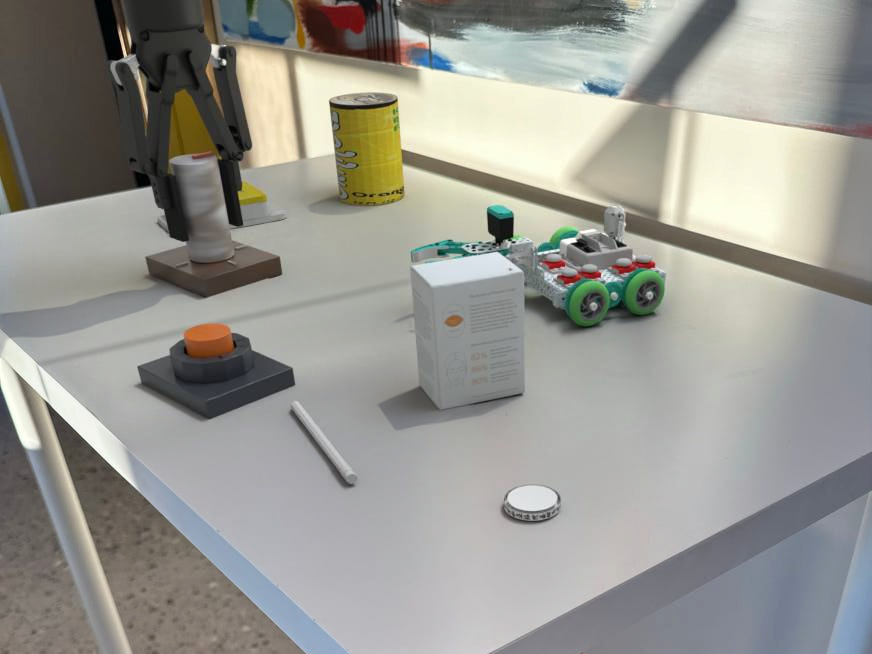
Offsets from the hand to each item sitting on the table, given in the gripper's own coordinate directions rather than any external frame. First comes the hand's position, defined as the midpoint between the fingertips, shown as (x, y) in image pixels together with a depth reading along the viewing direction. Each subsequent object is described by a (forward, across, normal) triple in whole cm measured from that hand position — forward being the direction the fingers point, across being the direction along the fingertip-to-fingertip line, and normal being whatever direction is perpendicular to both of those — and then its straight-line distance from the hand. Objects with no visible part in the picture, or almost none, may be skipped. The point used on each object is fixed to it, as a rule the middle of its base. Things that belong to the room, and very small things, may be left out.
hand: (207, 230), depth 107 cm
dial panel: (+5, 0, 0) cm, 5 cm away
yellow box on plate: (+5, -13, -18) cm, 23 cm away
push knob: (+2, +17, +26) cm, 31 cm away
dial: (+3, 0, 0) cm, 3 cm away
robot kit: (+5, -17, +34) cm, 38 cm away
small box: (+5, +3, +44) cm, 44 cm away
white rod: (+5, +18, +42) cm, 46 cm away
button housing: (+5, +17, +26) cm, 31 cm away
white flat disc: (+5, +14, +61) cm, 63 cm away
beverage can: (+5, -33, -11) cm, 35 cm away
